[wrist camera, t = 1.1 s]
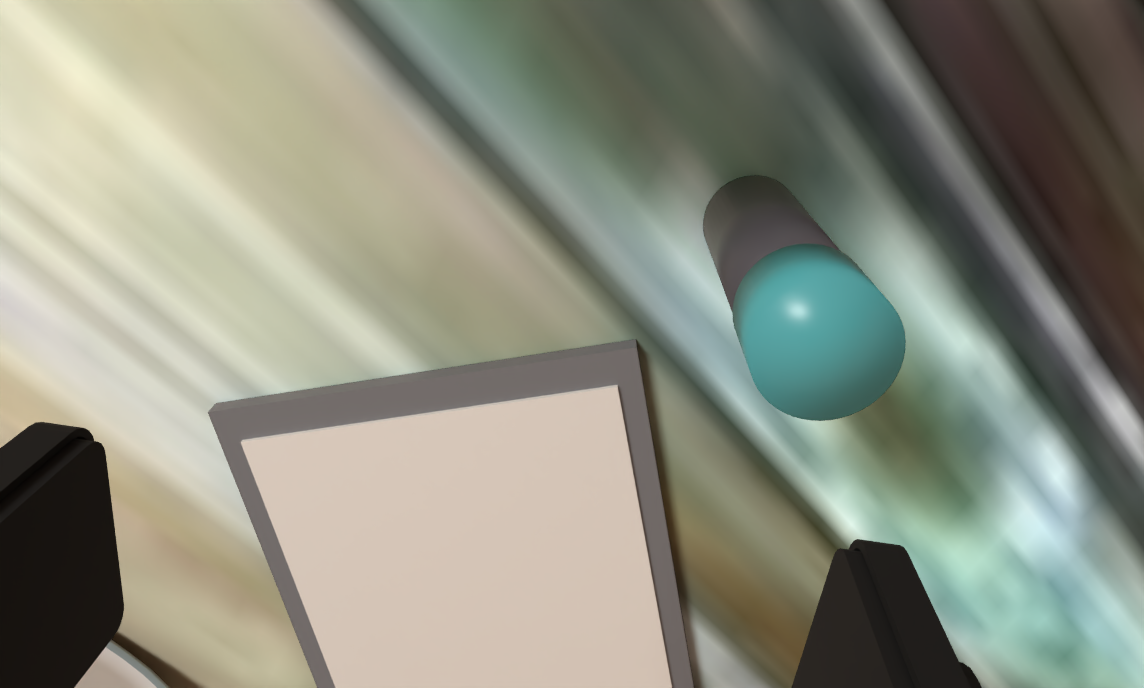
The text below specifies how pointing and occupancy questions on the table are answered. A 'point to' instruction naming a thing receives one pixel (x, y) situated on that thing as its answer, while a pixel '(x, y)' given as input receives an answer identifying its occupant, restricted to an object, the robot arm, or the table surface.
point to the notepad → (468, 525)
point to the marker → (800, 304)
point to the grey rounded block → (119, 671)
